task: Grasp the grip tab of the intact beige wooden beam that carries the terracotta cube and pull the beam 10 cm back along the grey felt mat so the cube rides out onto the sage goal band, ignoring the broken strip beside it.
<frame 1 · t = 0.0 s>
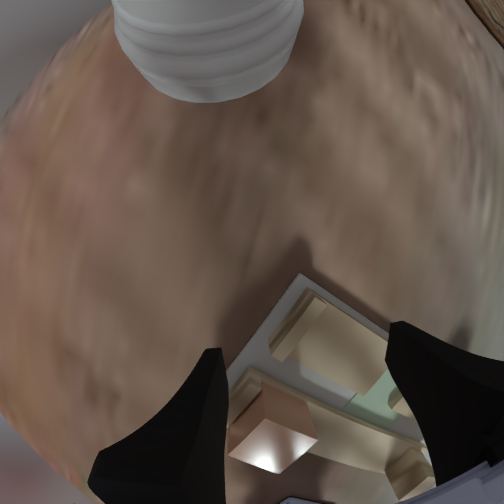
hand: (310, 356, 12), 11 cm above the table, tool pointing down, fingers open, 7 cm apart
beige wooden beam: (348, 456, 21), point 4 cm above the table, slide at 0.0 cm, touching cube
mat: (381, 414, 24), on the table
honey pot: (213, 35, 19), on the table
cube: (268, 411, 22), point 2 cm above the table, touching beige wooden beam
broken strip: (389, 374, 24), resting on mat
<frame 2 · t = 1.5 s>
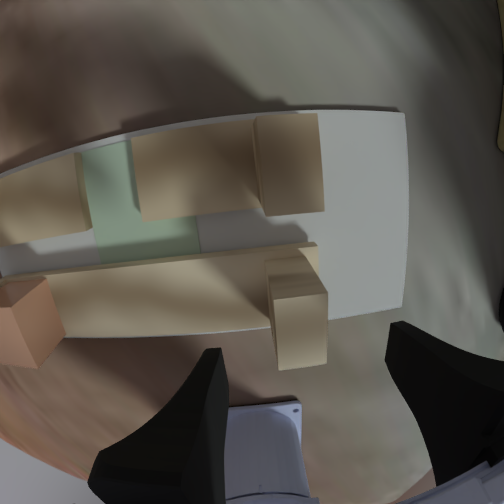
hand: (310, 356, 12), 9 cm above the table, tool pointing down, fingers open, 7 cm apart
beige wooden beam: (119, 319, 16), point 4 cm above the table, slide at 0.0 cm, touching cube
mat: (168, 238, 19), on the table
cube: (35, 307, 18), point 2 cm above the table, touching beige wooden beam
broken strip: (115, 183, 17), resting on mat
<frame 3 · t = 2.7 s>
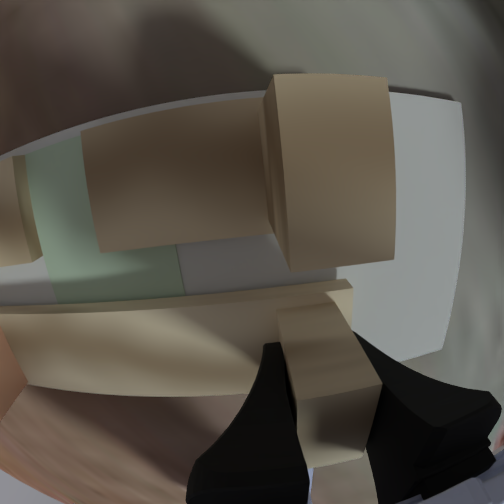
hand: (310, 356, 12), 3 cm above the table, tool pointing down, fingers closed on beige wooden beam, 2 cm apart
beige wooden beam: (78, 384, 10), point 4 cm above the table, slide at 0.0 cm, touching cube, gripper
mat: (140, 271, 13), on the table
broken strip: (67, 196, 12), resting on mat
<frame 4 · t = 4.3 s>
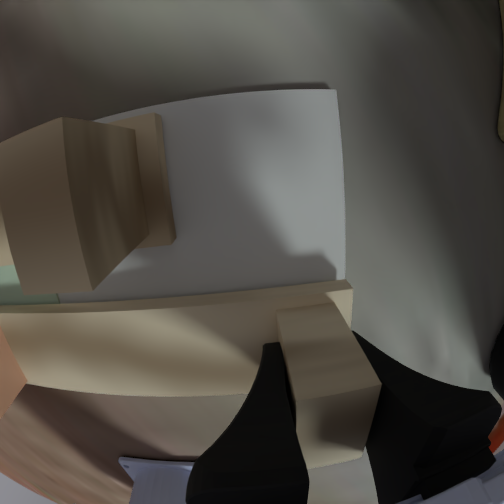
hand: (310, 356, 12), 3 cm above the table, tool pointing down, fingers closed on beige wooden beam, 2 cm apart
beige wooden beam: (77, 383, 10), point 4 cm above the table, slide at 6.9 cm, touching cube, gripper
mat: (31, 281, 13), on the table
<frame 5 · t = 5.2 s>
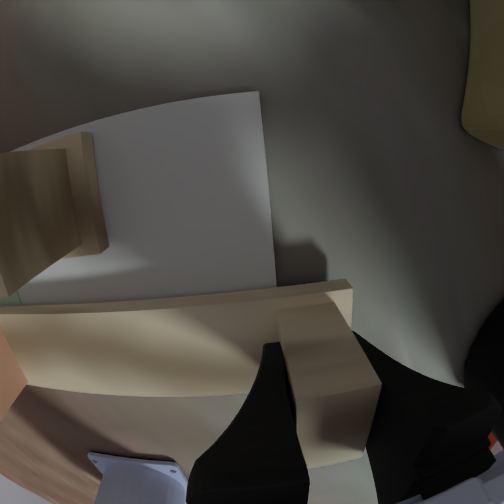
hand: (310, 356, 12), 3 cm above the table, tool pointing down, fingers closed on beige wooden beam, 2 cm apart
beige wooden beam: (78, 384, 10), point 4 cm above the table, slide at 10.0 cm, touching cube, gripper
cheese: (488, 1, 9), on the table
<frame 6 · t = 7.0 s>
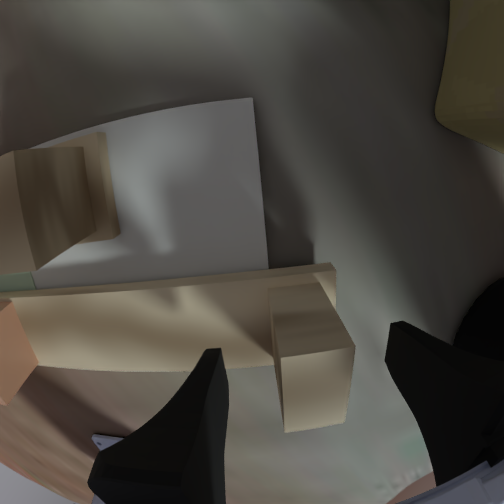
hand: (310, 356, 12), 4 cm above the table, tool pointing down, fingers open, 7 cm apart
beige wooden beam: (89, 357, 12), point 4 cm above the table, slide at 10.0 cm, touching cube
mat: (14, 271, 15), on the table
coffee jar: (491, 327, 18), on the table
cube: (5, 332, 14), point 2 cm above the table, touching beige wooden beam
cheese: (471, 3, 10), on the table
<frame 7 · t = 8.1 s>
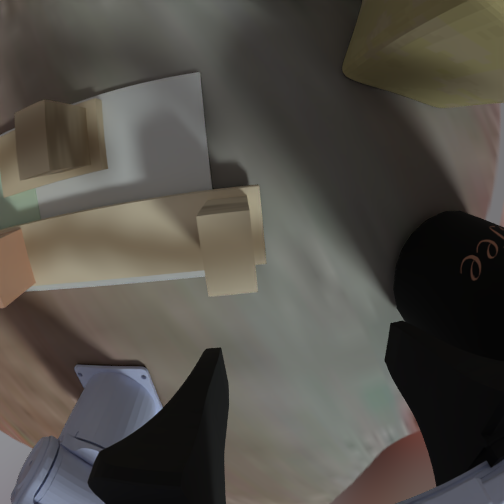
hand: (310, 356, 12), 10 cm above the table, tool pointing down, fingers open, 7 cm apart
beige wooden beam: (75, 256, 17), point 4 cm above the table, slide at 10.0 cm, touching cube
mat: (25, 209, 19), on the table
coffee jar: (437, 267, 22), on the table
cube: (11, 259, 19), point 2 cm above the table, touching beige wooden beam
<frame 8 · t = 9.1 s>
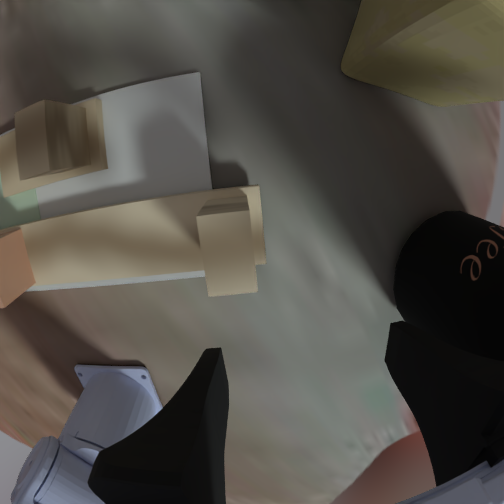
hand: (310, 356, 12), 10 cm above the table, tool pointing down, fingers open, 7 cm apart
beige wooden beam: (75, 256, 17), point 4 cm above the table, slide at 10.0 cm, touching cube
mat: (25, 209, 19), on the table
coffee jar: (437, 267, 22), on the table
cube: (11, 259, 19), point 2 cm above the table, touching beige wooden beam
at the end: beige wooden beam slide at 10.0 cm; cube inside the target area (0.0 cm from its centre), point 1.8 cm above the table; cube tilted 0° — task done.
